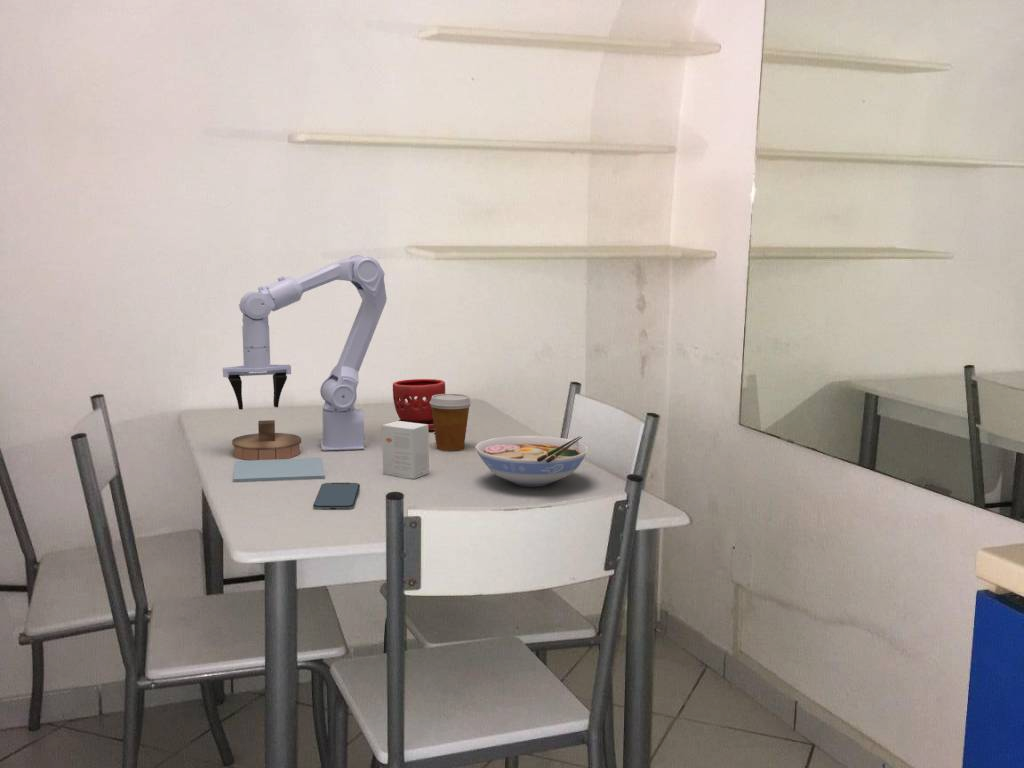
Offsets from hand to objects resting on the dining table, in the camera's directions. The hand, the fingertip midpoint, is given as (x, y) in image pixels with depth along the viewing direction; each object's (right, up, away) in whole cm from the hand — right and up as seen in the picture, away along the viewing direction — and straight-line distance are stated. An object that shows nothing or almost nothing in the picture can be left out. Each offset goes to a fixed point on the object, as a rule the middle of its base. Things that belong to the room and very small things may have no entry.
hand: (258, 407), depth 235 cm
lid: (+2, -8, +1) cm, 8 cm away
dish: (+2, -10, +1) cm, 10 cm away
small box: (+34, -14, -16) cm, 40 cm away
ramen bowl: (+60, -15, -21) cm, 65 cm away
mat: (+8, -13, -15) cm, 21 cm away
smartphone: (+23, -17, -35) cm, 46 cm away
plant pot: (+33, -6, +32) cm, 46 cm away
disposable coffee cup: (+42, -10, +9) cm, 44 cm away
